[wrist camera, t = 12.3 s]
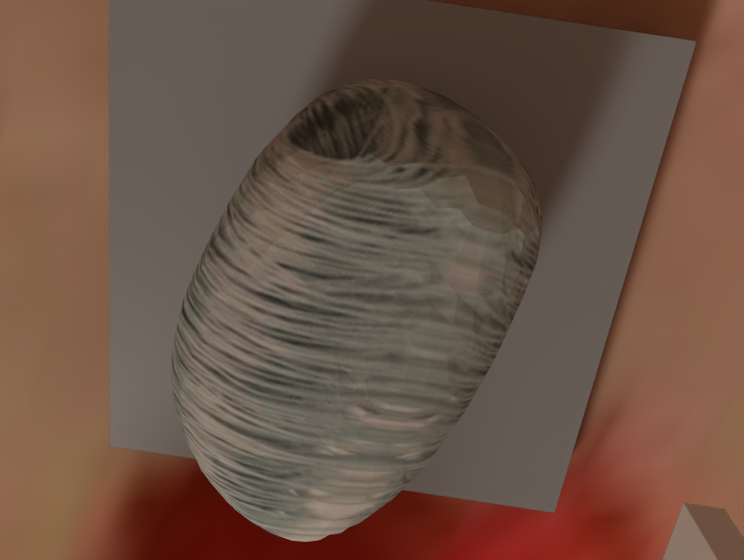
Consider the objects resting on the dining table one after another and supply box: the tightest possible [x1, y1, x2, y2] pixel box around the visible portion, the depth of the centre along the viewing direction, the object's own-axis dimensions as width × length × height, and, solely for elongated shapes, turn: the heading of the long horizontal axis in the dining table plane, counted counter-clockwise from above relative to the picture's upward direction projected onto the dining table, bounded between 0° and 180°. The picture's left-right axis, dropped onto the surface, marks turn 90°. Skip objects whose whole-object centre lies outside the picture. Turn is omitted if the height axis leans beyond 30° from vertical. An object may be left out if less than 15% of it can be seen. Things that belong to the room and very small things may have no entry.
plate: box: [109, 0, 697, 513], centre depth 24 cm, size 18×18×2 cm
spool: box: [171, 79, 543, 542], centre depth 20 cm, size 14×10×10 cm
